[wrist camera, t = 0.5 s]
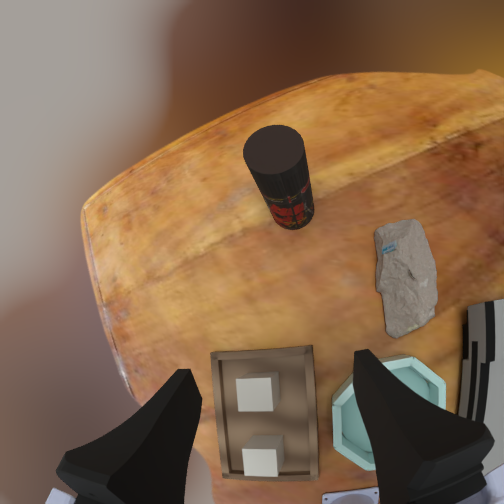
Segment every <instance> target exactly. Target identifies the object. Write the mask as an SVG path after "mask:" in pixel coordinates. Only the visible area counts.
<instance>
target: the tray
mask: <svg viewBox="0 0 504 504" xmlns="http://www.w3.org/2000/svg"><path fill="white" fill-rule="evenodd" d="M210 355H211V369H212V381H213V393H214V404H215V415H216V424H217V434H218V443H219V452H220V460H221V468H222V476H223V478H225V479H236V480H251V481H311V480H318V478H319V454H318V426H317V405H316V388H315V373H314V360H313V347H312V345H308V346H298V347H287V348H276V349H262V350H246V351H225V352H211V353H210ZM277 371H278V372H279V385H280V399H281V401H280V402H279V404H278V405H277V407H276V408H275V409H274V411H238V400H237V388H236V378H239V377H241V376H243V375H245V374H247V373H259V372H277ZM253 435H283V444H284V462H283V465H282V467H281V470H280V472H279V475H278V477H267V476H245V474H244V464H243V454H242V448H243V447H244V446H245V445H246V443H247V442H248V441H249V440H250V438H251V437H252V436H253Z"/></svg>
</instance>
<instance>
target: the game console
mask: <svg viewBox="0 0 504 504" xmlns="http://www.w3.org/2000/svg"><path fill="white" fill-rule="evenodd" d="M458 416H461V417H464V418H467V419H470V420H474V421H477V422H481V423H485V425H486V426H487V427H488V429H489V430H490V432H491V434H492V436H493V438H494V440H495V443H494V446H493V448H492V449H491V451H490V452H489V453H488V454H487V456H486V457H485V458H484V460H483V461H482V464H483V466H484V469H483V471H482V473H483V476H485V475H486V474H487V473H488V472H490V471H491V470H493V469H495V468H496V467H498V466H500V465H501V464H503V463H504V299H501V300H495V301H489V302H483V303H479V304H475V305H471V306H468V310H467V324H464V325H463V363H462V382H461V394H460V404H459V412H458Z"/></svg>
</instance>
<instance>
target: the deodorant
mask: <svg viewBox="0 0 504 504" xmlns="http://www.w3.org/2000/svg"><path fill="white" fill-rule="evenodd" d="M243 157H244V160H245V162H246V164H247V166H248V168H249V170H250V172H251V174H252V176H253V178H254V180H255V182H256V184H257V186H258V188H259V190H260V192H261V194H262V196H263V198H264V200H265V202H266V204H267V206H268V208H269V210H270V212H271V214H272V216H273V218H274V220H275V221H276V222H277V224H278V225H280V226H281V227H283V228H285V229H290V230H295V229H300V228H302V227H304V226H305V225H307V224H308V223H309V222H310V221H311V219H312V217H313V215H314V204H313V197H312V190H311V184H310V177H309V171H308V165H307V159H306V153H305V147H304V142H303V139H302V137H301V135H300V134H299V133H298V132H297V131H296V130H294V129H292V128H290V127H288V126H284V125H271V126H266V127H264V128H261V129H259V130H257V131H256V132H254V133H253V134H252V135H251V136H250V137H249V138H248V140H247V141H246V143H245V145H244V149H243Z"/></svg>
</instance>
